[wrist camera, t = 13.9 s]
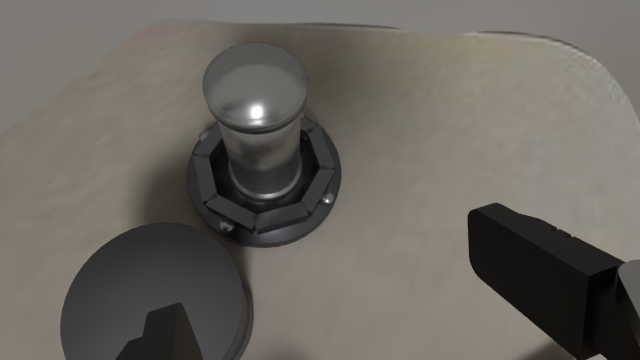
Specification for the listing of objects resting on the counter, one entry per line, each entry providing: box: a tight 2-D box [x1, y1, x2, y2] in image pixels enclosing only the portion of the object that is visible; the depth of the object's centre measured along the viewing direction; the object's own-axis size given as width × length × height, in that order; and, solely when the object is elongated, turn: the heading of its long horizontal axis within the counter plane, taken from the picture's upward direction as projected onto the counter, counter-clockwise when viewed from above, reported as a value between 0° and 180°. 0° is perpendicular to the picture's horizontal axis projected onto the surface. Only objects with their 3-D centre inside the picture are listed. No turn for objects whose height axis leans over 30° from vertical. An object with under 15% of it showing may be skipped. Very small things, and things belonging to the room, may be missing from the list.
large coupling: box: [60, 223, 254, 360], centre depth 20 cm, size 8×8×8 cm
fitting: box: [203, 43, 308, 202], centre depth 23 cm, size 5×5×10 cm
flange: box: [187, 112, 341, 248], centre depth 28 cm, size 11×11×2 cm
